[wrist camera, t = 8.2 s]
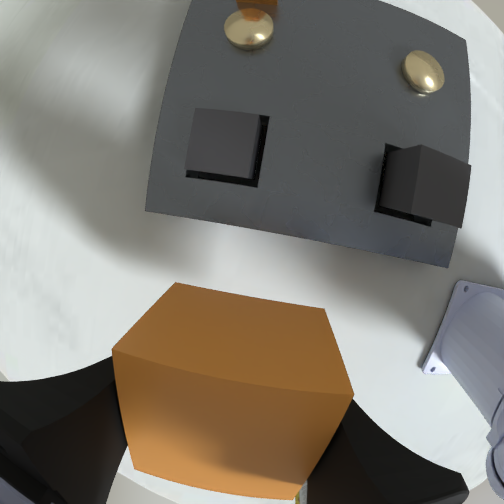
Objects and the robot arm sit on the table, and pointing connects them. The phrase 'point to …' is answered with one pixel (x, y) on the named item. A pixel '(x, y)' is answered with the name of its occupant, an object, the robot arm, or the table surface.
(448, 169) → the block
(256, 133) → the dark grey block
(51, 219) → the table surface
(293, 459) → the cap
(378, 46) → the grey flat slab
